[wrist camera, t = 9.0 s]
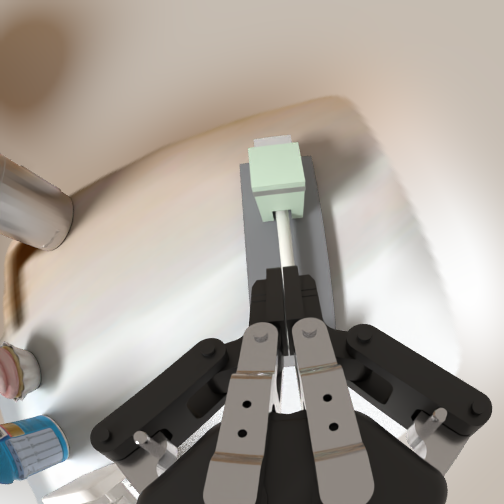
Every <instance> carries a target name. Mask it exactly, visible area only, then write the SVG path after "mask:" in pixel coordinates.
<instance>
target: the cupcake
mask: <svg viewBox="0 0 504 504" xmlns="http://www.w3.org/2000/svg"><path fill="white" fill-rule="evenodd" d="M40 382H41V373H40V368H39V364H38V362H37V360H36V358H35V357H34V355H33V354H32V353H30V352H29V351H27V350H23V349H20V348H17V347H14V346H13V345H11V344H8V343H7V342H5V341H4V342H3V345H0V393H1V394H2V395H3V396H4V397H6V398H9V399H13V400H14V401H15V402H17V401H18V400H19V399H20V400H23V399H24V398H25V396H26V395H27V394H28V393H30V392H32V391H34V390H36V389H37V388H38V387H39V385H40Z"/></svg>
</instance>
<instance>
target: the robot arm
mask: <svg viewBox="0 0 504 504" xmlns="http://www.w3.org/2000/svg"><path fill="white" fill-rule="evenodd" d="M72 218H73V204H72V201H71V199H70V198H69V196H67V195H66V194H64V193H63V192H61V190H60V189H59V188H57V187H56V186H54V185H52V184H51V183H49V182H48V181H46V180H44V179H43V178H41V177H40V176H38V175H36V174H35V173H33V172H32V171H30V170H28V169H27V168H25V167H24V166H19V165H18V164H16V163H14V162H13V161H11V160H10V159H8V158H7V157H5V156H4V155H2V154H0V234H1V235H4V236H6V237H9V238H12V239H14V240H17V241H20V242H22V243H25V244H28V245H31V246H34V247H36V248H39V249H42V250H46V251H51V250H53V249H55V248H57V247H58V246H59V245H60V244H61V243H62V242H63V240H64V239H65V237H66V235H67V233H68V231H69V229H70V226H71V223H72ZM283 281H284V285H283ZM287 332H288V337H287ZM288 341H289V350H290V356H292V355H294V359H295V370H296V377H297V383H298V389H299V396H300V402H301V411H298V412H295V413H292V414H282V413H281V402H282V387H283V368H284V356H289V354H288ZM348 387H350V388H351V389H352V390H354V391H355V392H356V393H358V394H359V395H360V396H362V397H363V398H364V399H366V400H367V401H368V402H370V403H371V404H372V405H374V406H375V407H376V408H378V409H379V410H381V411H382V412H383V413H385V414H386V415H388V416H389V417H390V418H392V419H393V420H395V421H396V422H397V423H399V424H400V425H402V426H403V427H404V428H406V429H407V435H406V437H407V442H408V444H409V445H410V446H411V447H412V448H413V449H414V451H415V452H414V451H412V450H411V449H409V448H408V447H407V446H406V445H404V444H403V443H402V442H401V441H399V440H398V439H397V438H395V437H394V436H393V435H392V434H390V433H389V432H388V431H387V430H385V429H384V428H383V427H382V426H380V425H379V424H378V423H377V422H375V421H374V420H373V419H372V418H370V417H369V416H367V415H365V414H363V413H361V412H358V411H355V410H354V408H353V405H352V401H351V397H350V393H349V390H348ZM224 405H225V407H224V412H223V417H222V422H220V423H218V424H217V425H215V426H213V427H212V428H211V429H210V430H208V431H207V432H206V433H205V434H204V435H203V436H202V437H201V438H200V439H199V440H198V441H197V442H196V443H195V444H194V445H193V446H192V447H191V448H190V449H189V450H188V451H187V452H186V453H185V454H183V455H182V456H181V457H180V458H179V459H178V460H177V461H176V459H177V456H178V451H177V447H178V446H180V445H181V444H182V443H183V442H184V441H185V440H187V439H188V438H189V437H190V436H191V435H192V434H193V433H194V432H196V431H197V430H198V429H199V428H200V427H201V426H202V425H203V424H204V423H205V422H207V421H208V420H209V419H210V418H211V417H212V416H213V415H214V414H215V413H216V412H217V411H218V410H219V409H220V408H221V407H222V406H224ZM491 413H492V404H491V401H490V399H489V398H488V397H487V396H486V395H485V394H483V393H482V392H480V391H478V390H477V389H475V388H474V387H472V386H470V385H469V384H467V383H465V382H464V381H462V380H461V379H459V378H457V377H456V376H454V375H452V374H451V373H449V372H447V371H446V370H444V369H442V368H441V367H439V366H438V365H436V364H434V363H433V362H431V361H429V360H428V359H426V358H424V357H423V356H421V355H420V354H418V353H416V352H415V351H413V350H411V349H410V348H408V347H406V346H405V345H403V344H402V343H400V342H398V341H397V340H395V339H393V338H392V337H390V336H388V335H387V334H385V333H384V332H382V331H380V330H379V329H377V328H375V327H374V326H371V325H368V324H359V325H356V326H354V327H352V328H351V329H350V330H349V331H348V332H347V331H339V330H335V329H332V328H330V327H329V326H328V325H326V323H325V322H324V320H323V317H322V312H321V307H320V302H319V297H318V292H317V287H316V283H315V280H314V279H313V278H312V277H311V276H310V275H309V274H308V275H299V273H298V266H297V265H294V266H285V267H283V277H282V269H281V267H277V268H267V269H266V279H262V280H256V282H255V283H254V285H253V286H252V290H251V304H250V318H249V327H248V328H247V329H246V331H245V332H244V335H243V336H242V337H241V338H239V339H237V340H235V341H232V342H229V343H226V344H224V343H223V342H222V341H221V340H219V339H215V338H208V339H204V340H202V341H200V342H199V343H197V344H196V345H195V346H194V347H193V348H191V349H190V350H189V351H188V352H187V353H185V354H184V355H183V356H182V357H181V358H179V359H178V360H177V361H176V362H175V363H173V364H172V365H171V366H170V367H169V368H167V369H166V370H165V371H164V372H163V373H161V374H160V375H159V376H158V377H156V378H155V379H154V380H153V381H152V382H150V383H149V384H148V385H147V386H145V387H144V388H143V389H142V390H140V391H139V392H138V393H137V394H135V395H134V396H133V397H132V398H130V399H129V400H128V401H127V402H125V403H124V404H123V405H122V406H120V407H119V408H118V409H116V410H115V411H114V412H113V413H111V414H110V415H109V416H107V417H106V418H105V419H104V420H102V421H101V422H100V423H98V424H97V425H96V426H95V427H94V428H93V430H92V432H91V437H90V439H91V444H92V446H93V447H94V448H95V449H96V450H97V451H99V452H100V453H102V454H103V455H105V456H106V457H107V458H108V459H110V460H112V461H113V462H115V464H116V465H117V466H118V468H119V469H120V470H121V472H122V473H123V474H124V476H125V477H126V478H127V479H128V481H129V482H130V483H131V484H132V486H133V487H134V488H135V489H136V490H137V492H138V493H139V494H140V495H139V497H138V500H137V503H136V504H445V502H446V499H447V491H448V490H447V483H446V480H445V478H444V475H445V474H446V472H447V471H448V470H449V468H450V467H451V465H452V464H453V462H454V461H455V459H456V458H457V456H458V455H459V453H460V452H461V450H462V448H463V447H464V445H465V444H466V442H467V440H468V439H469V437H470V436H471V435H473V434H474V433H475V432H476V431H477V430H478V429H479V428H481V427H482V426H483V425H484V424H485V423H486V422H487V421H488V420H489V418H490V416H491ZM175 461H176V462H175Z"/></svg>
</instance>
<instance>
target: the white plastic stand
mask: <svg viewBox="0 0 504 504" xmlns="http://www.w3.org/2000/svg"><path fill="white" fill-rule="evenodd" d="M124 479H126V477H125V476H124V474H123V473H122V472H121V470H120V469H119V468H118V466H117V465H116V464H115V463H114V464H111V465H109V466H106V467H103V468H101V469H98V470H95V471H93V472H90V473H87V474H85V475H82V476H80V477H79V478H77V479H75V480H73V481H72V482H70V483H68V484H66V485H64V486H62V487H61V488H59V489H57V490H55V491H53V492H51V493H49V494H47V495H45V496H44V497H43V498H42V499H41V500H42V501H43V502H44V504H136V503H137V499H136V498H135V497H134V496H133V494H132V493H131V492H130V491H129V490H128V489H127V488H126V486H125V485H124V484H123V483H122V481H123V480H124ZM131 486H132V484H130V486H129V487H131ZM129 487H128V488H129Z"/></svg>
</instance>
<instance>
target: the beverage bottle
mask: <svg viewBox="0 0 504 504" xmlns="http://www.w3.org/2000/svg"><path fill="white" fill-rule="evenodd" d="M68 457H69V445H68V442H67V439H66V437H65V435H64V433H63V432H62V430H61V428H60V427H59V426H58V425H57V424H56V422H54V421H53V420H52V419H51V418H49V417H47V416H44V415H40V416H36V417H33V418H29V419H25V420H20V421H16V422H11V423H6V424H1V425H0V483H1V484H11V483H13V481H14V480H24V479H26V478H28V477H29V476H31V475H33V474H36V473H38V472H40V471H42V470H45V469H47V468H49V467H51V466H53V465H56V464H58V463H61V462H63V461H65V460H66V459H67V458H68Z"/></svg>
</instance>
